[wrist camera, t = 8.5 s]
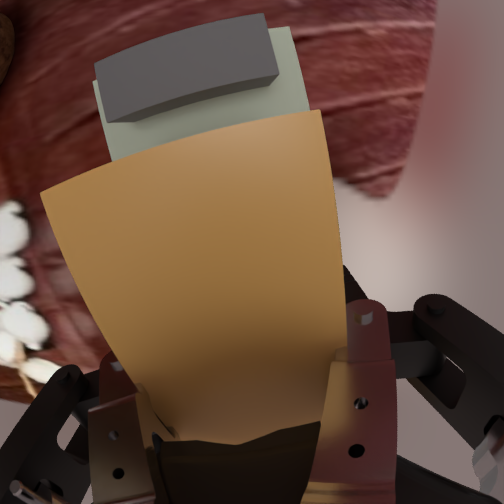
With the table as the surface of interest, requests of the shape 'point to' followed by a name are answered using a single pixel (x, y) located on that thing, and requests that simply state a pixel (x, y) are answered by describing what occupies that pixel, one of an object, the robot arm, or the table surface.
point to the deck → (216, 110)
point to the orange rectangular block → (215, 273)
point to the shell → (6, 45)
